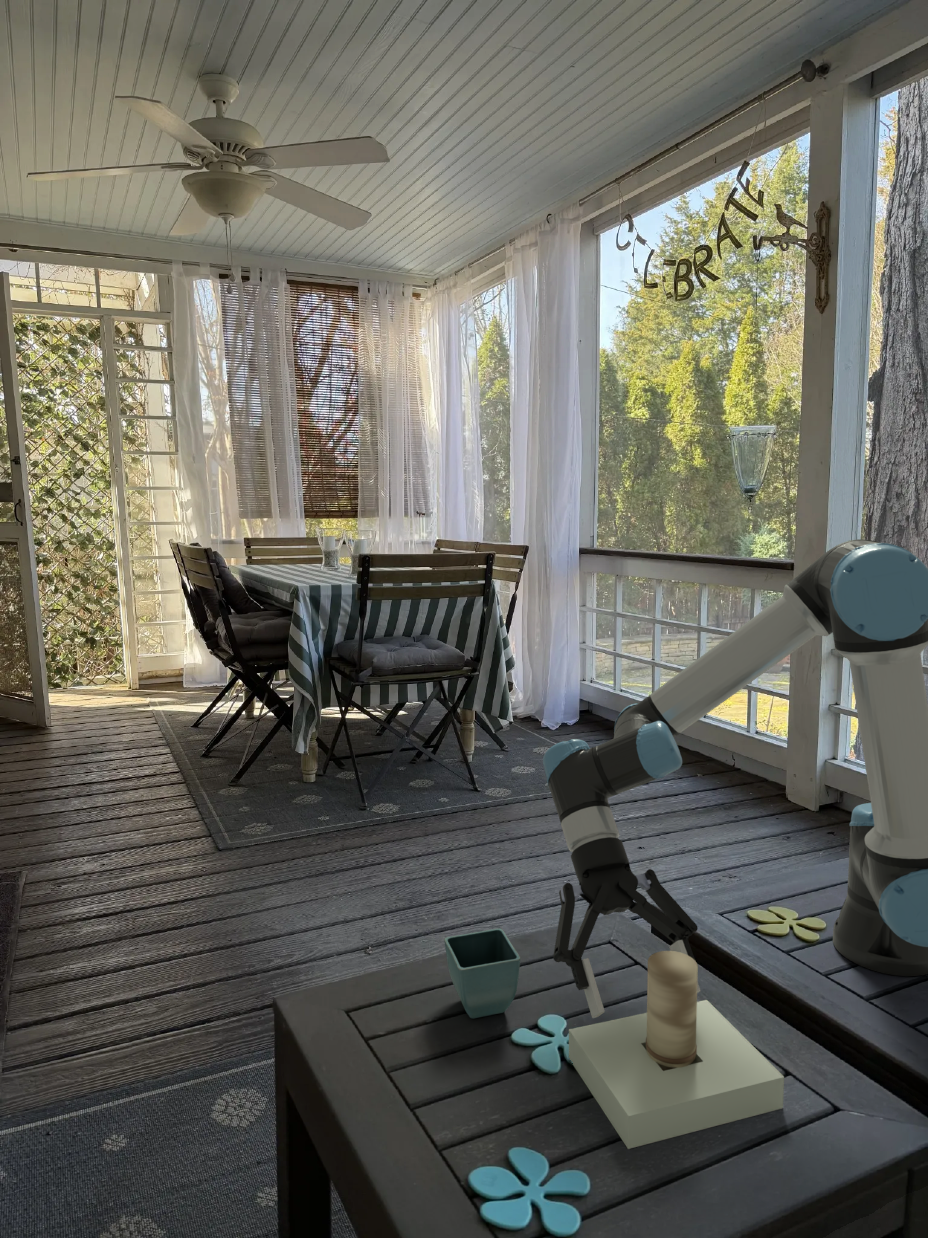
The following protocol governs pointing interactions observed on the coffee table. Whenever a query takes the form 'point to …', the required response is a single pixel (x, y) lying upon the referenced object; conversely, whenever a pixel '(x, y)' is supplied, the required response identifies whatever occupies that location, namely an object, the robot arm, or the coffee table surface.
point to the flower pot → (483, 971)
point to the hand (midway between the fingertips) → (647, 1005)
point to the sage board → (673, 1078)
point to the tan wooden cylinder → (671, 1009)
